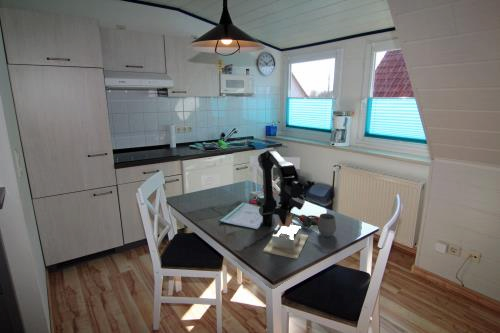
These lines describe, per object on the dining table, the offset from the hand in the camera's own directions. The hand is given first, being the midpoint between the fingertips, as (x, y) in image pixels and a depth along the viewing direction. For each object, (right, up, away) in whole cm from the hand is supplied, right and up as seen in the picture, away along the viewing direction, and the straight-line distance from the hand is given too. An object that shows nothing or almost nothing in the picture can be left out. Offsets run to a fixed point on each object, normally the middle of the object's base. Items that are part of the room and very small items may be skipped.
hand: (285, 222), depth 140 cm
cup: (+22, -9, +12) cm, 27 cm away
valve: (+15, -5, +29) cm, 33 cm away
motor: (+1, -10, +4) cm, 11 cm away
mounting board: (+1, -11, +3) cm, 11 cm away
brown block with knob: (0, -1, 0) cm, 1 cm away
